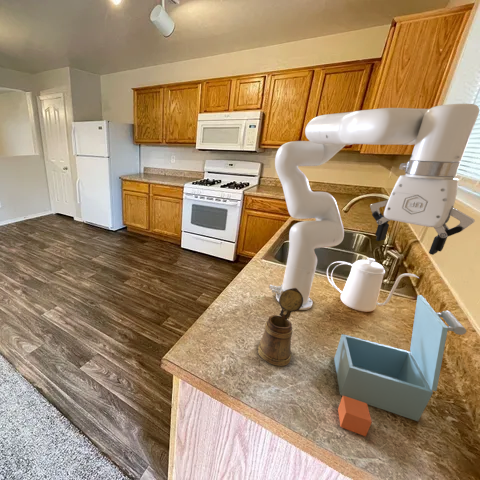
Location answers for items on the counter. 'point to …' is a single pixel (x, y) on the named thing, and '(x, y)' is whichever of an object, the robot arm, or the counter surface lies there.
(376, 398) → the chest
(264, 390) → the counter surface
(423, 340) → the lid
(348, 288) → the coffeepot
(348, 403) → the block
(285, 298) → the wooden mug
